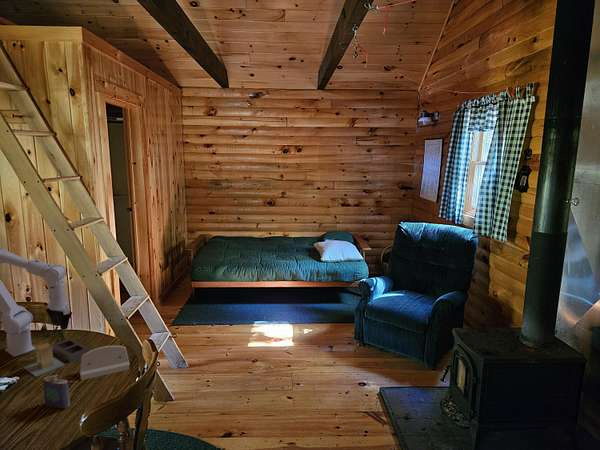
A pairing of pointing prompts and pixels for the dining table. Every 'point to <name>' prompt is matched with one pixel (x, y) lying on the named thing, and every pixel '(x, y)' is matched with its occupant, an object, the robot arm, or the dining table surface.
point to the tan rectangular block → (44, 356)
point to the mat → (38, 371)
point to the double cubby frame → (69, 349)
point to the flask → (56, 392)
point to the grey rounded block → (104, 361)
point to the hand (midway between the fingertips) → (60, 326)
